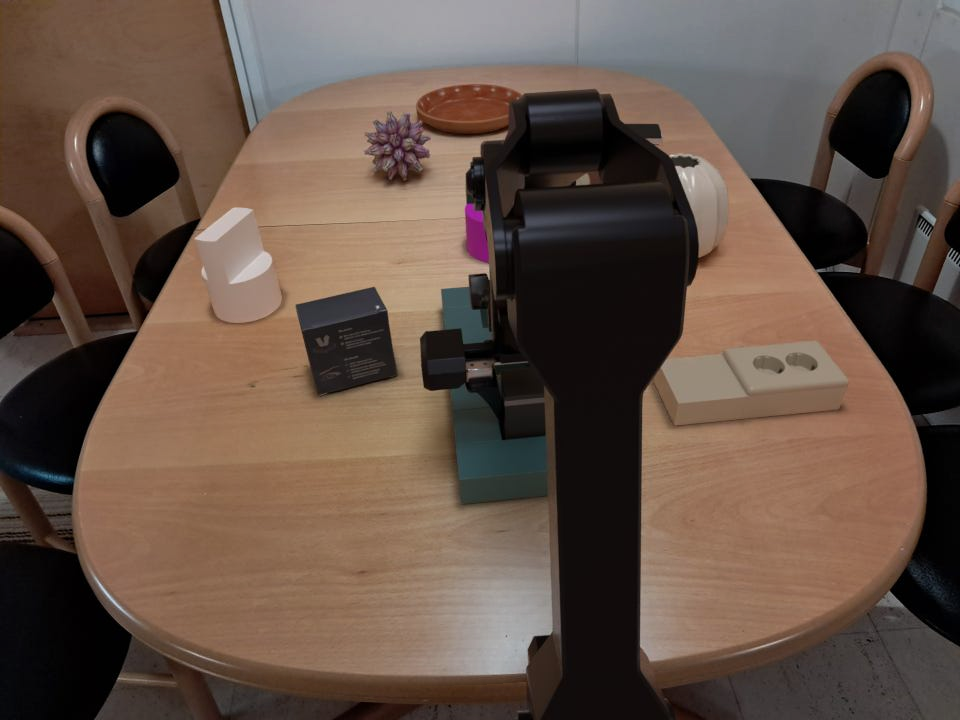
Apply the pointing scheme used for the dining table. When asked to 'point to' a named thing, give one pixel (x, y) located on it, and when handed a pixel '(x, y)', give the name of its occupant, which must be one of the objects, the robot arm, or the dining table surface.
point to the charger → (522, 404)
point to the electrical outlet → (751, 383)
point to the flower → (397, 145)
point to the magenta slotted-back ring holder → (476, 234)
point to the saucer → (467, 108)
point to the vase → (704, 198)
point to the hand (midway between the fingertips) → (523, 418)
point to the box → (347, 340)
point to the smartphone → (648, 132)
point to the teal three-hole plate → (488, 426)
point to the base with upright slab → (238, 268)
